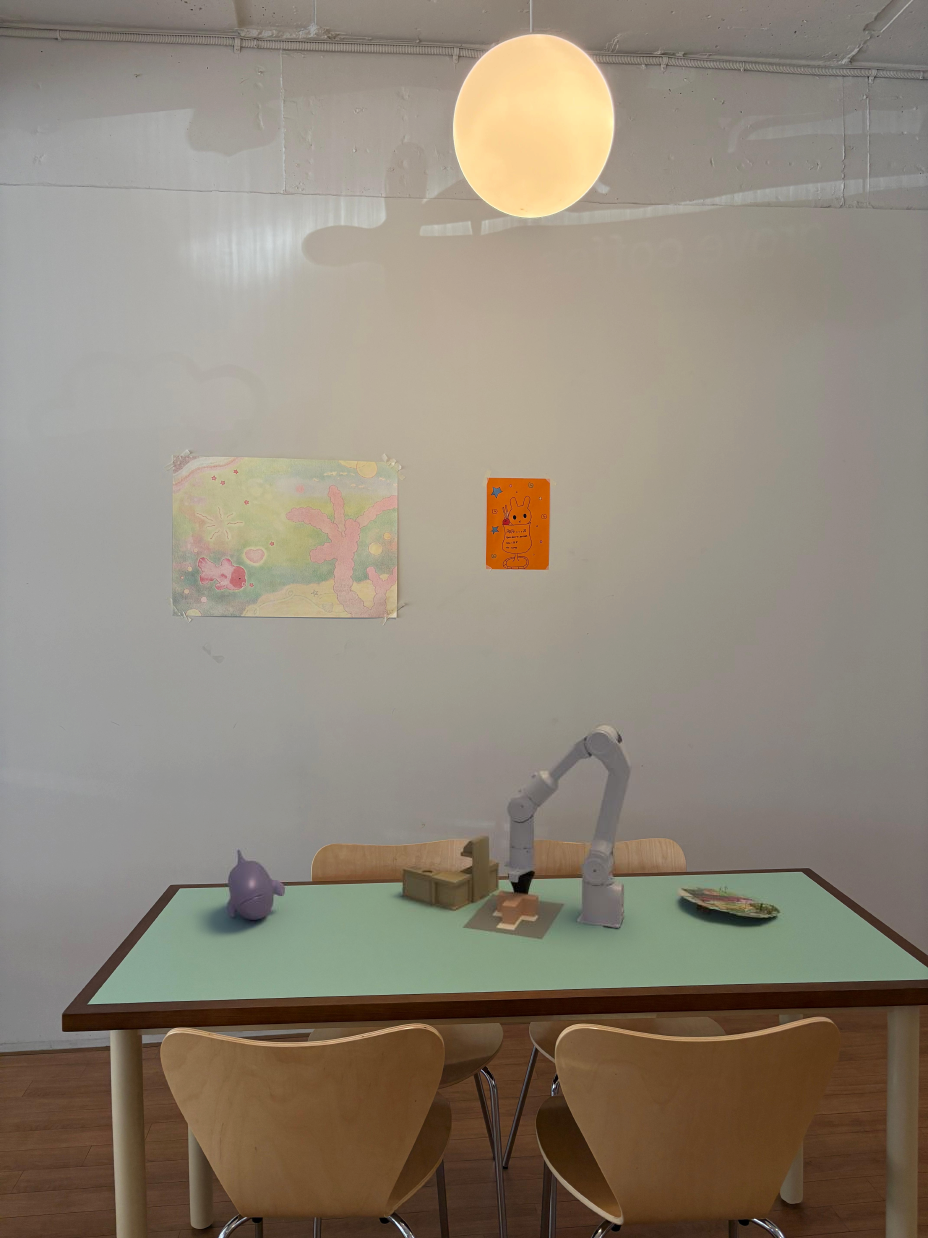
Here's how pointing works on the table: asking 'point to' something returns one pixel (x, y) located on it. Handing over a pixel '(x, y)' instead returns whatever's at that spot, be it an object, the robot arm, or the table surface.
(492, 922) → the mat
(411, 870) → the toy kitchen set
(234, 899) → the toy whale
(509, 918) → the t block
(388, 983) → the table surface
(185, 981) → the table surface
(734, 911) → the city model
